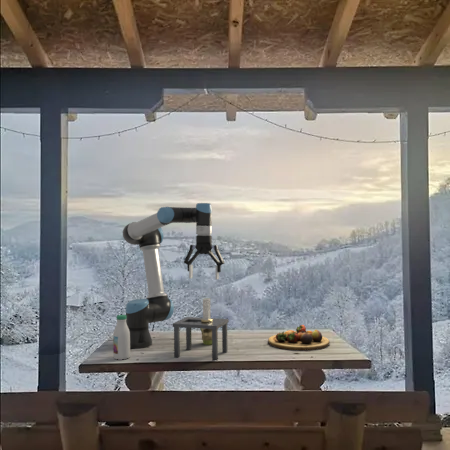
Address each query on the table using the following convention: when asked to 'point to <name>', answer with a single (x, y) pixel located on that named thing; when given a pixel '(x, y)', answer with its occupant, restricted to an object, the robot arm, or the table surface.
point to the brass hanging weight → (206, 320)
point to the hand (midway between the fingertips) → (203, 278)
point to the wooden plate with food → (299, 340)
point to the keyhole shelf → (196, 323)
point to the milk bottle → (121, 339)
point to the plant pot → (207, 341)
